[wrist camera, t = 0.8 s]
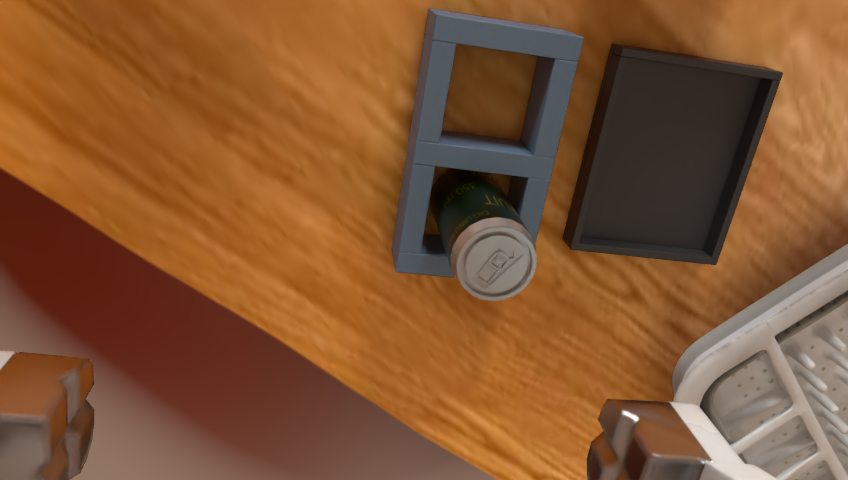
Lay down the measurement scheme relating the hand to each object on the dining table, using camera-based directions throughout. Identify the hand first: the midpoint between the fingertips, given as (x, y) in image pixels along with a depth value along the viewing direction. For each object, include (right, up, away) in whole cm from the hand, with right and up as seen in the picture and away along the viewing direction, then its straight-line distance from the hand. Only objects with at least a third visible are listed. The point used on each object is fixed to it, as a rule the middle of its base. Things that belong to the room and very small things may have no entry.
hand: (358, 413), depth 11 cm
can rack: (+5, +10, +41) cm, 42 cm away
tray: (+19, +9, +42) cm, 48 cm away
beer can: (+4, +6, +42) cm, 43 cm away
